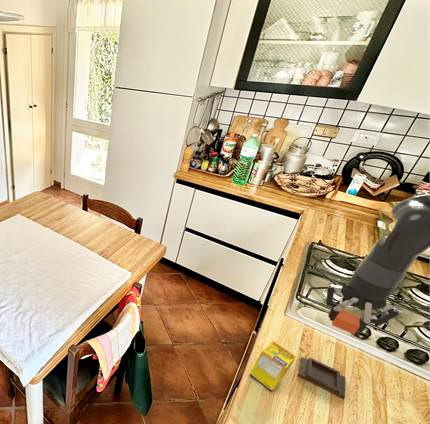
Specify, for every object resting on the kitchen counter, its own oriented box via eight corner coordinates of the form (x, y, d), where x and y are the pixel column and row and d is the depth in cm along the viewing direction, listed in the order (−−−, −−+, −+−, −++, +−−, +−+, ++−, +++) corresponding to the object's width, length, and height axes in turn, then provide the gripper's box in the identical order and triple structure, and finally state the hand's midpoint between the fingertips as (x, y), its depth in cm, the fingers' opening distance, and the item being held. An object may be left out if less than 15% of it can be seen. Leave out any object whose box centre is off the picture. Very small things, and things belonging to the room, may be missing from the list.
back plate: (343, 379, 85) (347, 375, 84) (343, 399, 80) (347, 395, 79) (300, 358, 90) (302, 354, 89) (297, 375, 86) (300, 371, 84)
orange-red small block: (354, 323, 83) (359, 316, 81) (354, 334, 80) (359, 326, 78) (332, 314, 86) (337, 307, 84) (331, 325, 82) (337, 317, 81)
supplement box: (281, 380, 84) (297, 356, 79) (271, 393, 81) (286, 368, 76) (259, 363, 89) (272, 339, 83) (248, 375, 86) (261, 350, 80)
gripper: (417, 281, 72) (378, 329, 81) (339, 256, 80) (312, 302, 89) (421, 299, 67) (379, 348, 76) (338, 271, 76) (309, 318, 84)
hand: (343, 323), depth 83 cm, fingers closed on orange-red small block, 4 cm apart
